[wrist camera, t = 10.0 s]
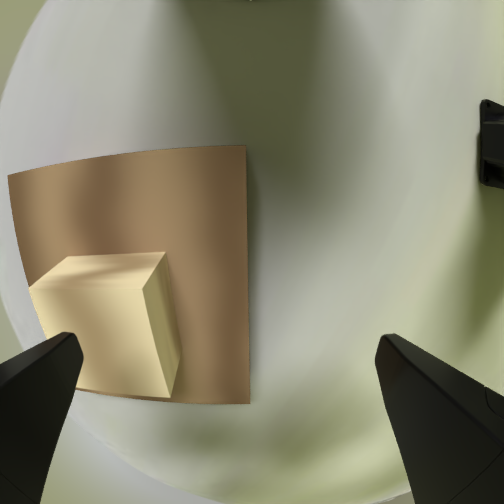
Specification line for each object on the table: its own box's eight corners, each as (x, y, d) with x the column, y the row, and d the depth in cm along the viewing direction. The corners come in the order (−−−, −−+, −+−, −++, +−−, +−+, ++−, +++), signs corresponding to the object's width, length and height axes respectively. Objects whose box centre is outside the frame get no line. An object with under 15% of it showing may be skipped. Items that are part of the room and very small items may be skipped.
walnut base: (245, 145, 16) (245, 145, 13) (249, 374, 21) (250, 403, 18) (35, 168, 15) (7, 175, 12) (82, 364, 21) (69, 388, 18)
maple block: (165, 252, 14) (142, 288, 11) (182, 348, 16) (170, 397, 13) (67, 256, 14) (28, 288, 11) (93, 344, 16) (69, 386, 13)
